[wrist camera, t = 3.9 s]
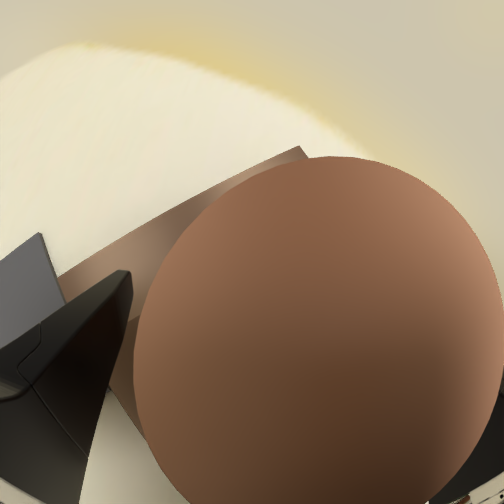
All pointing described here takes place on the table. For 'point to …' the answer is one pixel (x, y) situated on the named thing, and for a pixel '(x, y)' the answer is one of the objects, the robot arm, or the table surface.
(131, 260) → the block
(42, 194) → the table surface
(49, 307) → the mat
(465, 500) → the food container
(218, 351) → the peg
